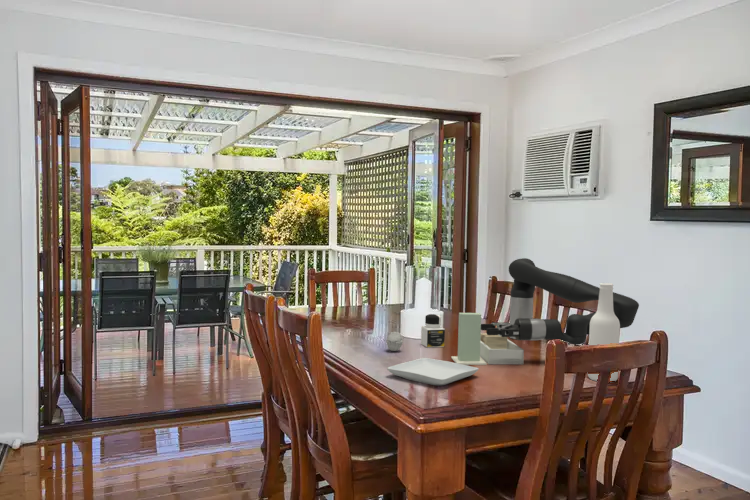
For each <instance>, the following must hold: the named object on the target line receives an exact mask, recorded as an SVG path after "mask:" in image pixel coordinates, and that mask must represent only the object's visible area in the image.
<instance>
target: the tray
mask: <svg viewBox="0 0 750 500" xmlns="http://www.w3.org/2000/svg"><path fill="white" fill-rule="evenodd" d="M524 352H525V349H524V348H522V347H520V346H519V345H518V344H516V343H514V342H513V341H512V340H510V339H508V338H507V349H491V348H489V347H488V346H487V345H486V344H484V343H483V342H482V341H481V340H480V358H482V359H483V360H484V361H485V362H486V363H487V364H488V365H524V359H525V357H524V356H525V355H524V354H525V353H524Z"/></svg>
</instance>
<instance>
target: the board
mask: <svg viewBox="0 0 750 500" xmlns="http://www.w3.org/2000/svg"><path fill="white" fill-rule="evenodd" d="M481 324H482V314H481V313H479V312H458V331H457V333H458V334H457V336H458V337H457V356H458V360H459V361H480V358H481V357H480V338H481V333H482V330H481Z"/></svg>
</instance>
